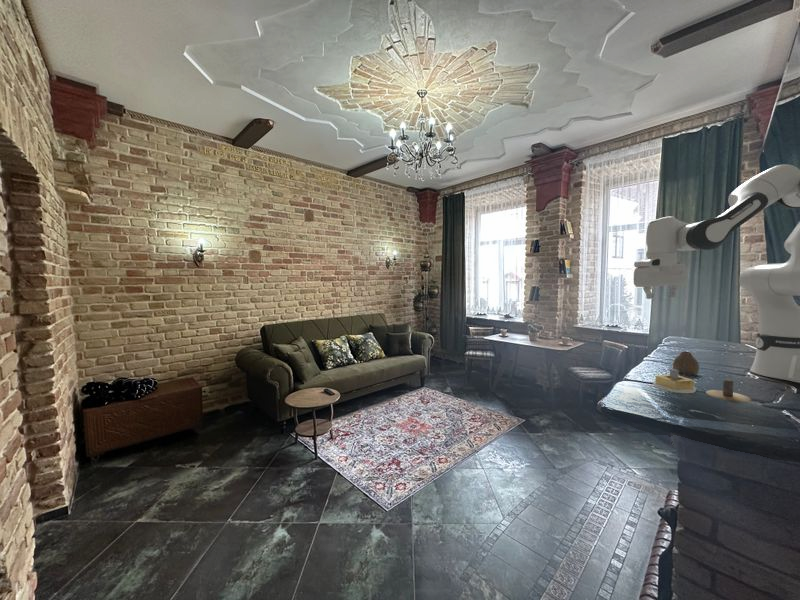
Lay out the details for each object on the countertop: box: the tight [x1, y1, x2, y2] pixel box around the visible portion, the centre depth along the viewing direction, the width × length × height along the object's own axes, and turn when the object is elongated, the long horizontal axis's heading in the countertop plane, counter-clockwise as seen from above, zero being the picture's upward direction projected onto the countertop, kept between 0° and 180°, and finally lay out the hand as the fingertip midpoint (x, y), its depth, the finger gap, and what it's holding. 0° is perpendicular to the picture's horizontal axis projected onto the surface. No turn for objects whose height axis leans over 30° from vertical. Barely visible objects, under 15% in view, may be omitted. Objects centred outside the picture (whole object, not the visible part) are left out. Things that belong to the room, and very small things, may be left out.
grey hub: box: [652, 368, 697, 394], centre depth 98 cm, size 10×10×7 cm
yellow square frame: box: [655, 373, 695, 390], centre depth 98 cm, size 6×6×2 cm
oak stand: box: [705, 378, 752, 403], centre depth 90 cm, size 9×9×6 cm
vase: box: [672, 351, 700, 376], centre depth 112 cm, size 7×7×9 cm
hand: (660, 298), depth 119 cm, fingers open, 8 cm apart
